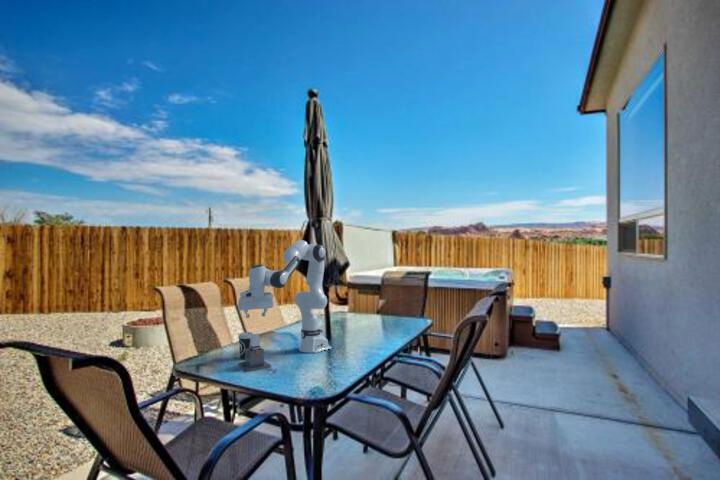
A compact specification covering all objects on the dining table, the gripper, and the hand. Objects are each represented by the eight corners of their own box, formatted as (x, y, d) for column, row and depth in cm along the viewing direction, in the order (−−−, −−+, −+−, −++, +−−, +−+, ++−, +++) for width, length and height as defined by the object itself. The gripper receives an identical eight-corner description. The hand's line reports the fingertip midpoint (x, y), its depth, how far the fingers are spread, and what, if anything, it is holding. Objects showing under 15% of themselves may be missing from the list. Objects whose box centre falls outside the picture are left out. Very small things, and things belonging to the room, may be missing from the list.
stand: (260, 361, 218) (261, 344, 218) (270, 367, 207) (271, 349, 207) (237, 365, 209) (238, 348, 210) (246, 372, 198) (247, 353, 199)
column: (256, 361, 211) (257, 333, 212) (259, 363, 208) (260, 335, 208) (249, 363, 209) (250, 334, 209) (252, 365, 205) (253, 336, 206)
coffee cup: (248, 360, 219) (249, 335, 219) (234, 359, 221) (235, 334, 221) (256, 356, 228) (257, 332, 229) (242, 355, 230) (243, 331, 230)
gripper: (271, 291, 219) (270, 314, 218) (237, 293, 206) (236, 317, 205) (275, 292, 214) (274, 316, 213) (241, 294, 201) (240, 319, 200)
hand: (255, 316), depth 209 cm, fingers open, 8 cm apart
